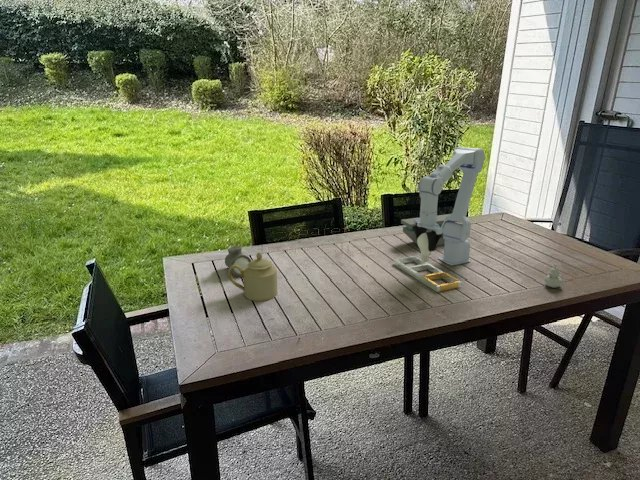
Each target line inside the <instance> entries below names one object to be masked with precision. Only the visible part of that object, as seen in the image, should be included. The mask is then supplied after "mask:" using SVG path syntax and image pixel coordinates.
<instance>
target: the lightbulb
mask: <svg viewBox="0 0 640 480" xmlns="http://www.w3.org/2000/svg"><path fill="white" fill-rule="evenodd" d="M416 244H417V247H418V249H419V251H420V253H421V255H420V259H421V261H422V262H427V263H429V260H430V259H429V258H430V254H431V252H430V251H429V249H428V237H427V234H426V233H423V234H421V235H420V236H419V237H418V239H417V243H416Z"/></svg>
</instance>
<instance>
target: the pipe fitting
mask: <svg viewBox="0 0 640 480" xmlns="http://www.w3.org/2000/svg"><path fill="white" fill-rule="evenodd" d="M242 250H243V247H242V246H241V245H235V246H231V247H229V248H228V249H227V252H228V254H227V255H226V256H225V258H224V263H225V265H226V267H227V268H228V269H229V268H230V267H231V266H232V265H235V264H236V265H239V266H241V268H242V269H243V271H244V270H245V269H246V268H248V267H247V264H248V263H249V262H251V261H252V260H251V258H250V257H249V256H247V255H246V254H243V253H242ZM231 274H233V275H234V276H236V277H238V278H239V277H240V278H242V276H241V273H240V271H239V269H237V268H233V269H232V270H231Z"/></svg>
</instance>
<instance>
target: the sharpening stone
mask: <svg viewBox="0 0 640 480" xmlns="http://www.w3.org/2000/svg"><path fill="white" fill-rule="evenodd" d="M450 214H451V213H448V214H441V215H440V214H439V215H438V214H437V218H436V223H437V224H438V225H439V226H440V227H441V226H442V224H443V222H444V220H445V217H447V216H449V215H450ZM414 218H415V217H411V218H404V219H403V218H402V219H400V224H402V225H404V226H402V232H403V234H405V235H406V237H408V238H409V239H410V240H411V241H412V242H414V243H415V244H417V239H416V235H415V232H414V230H413V228H412V227H413V226H415V225H416V224H414ZM454 223H457V222H454ZM427 232H431V230H429V229H427V231H426V233H427ZM444 244H445V239H443V236H441V238H440V239H439V241H438V243H437V246H440V245H441V246H442V245H444Z"/></svg>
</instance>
